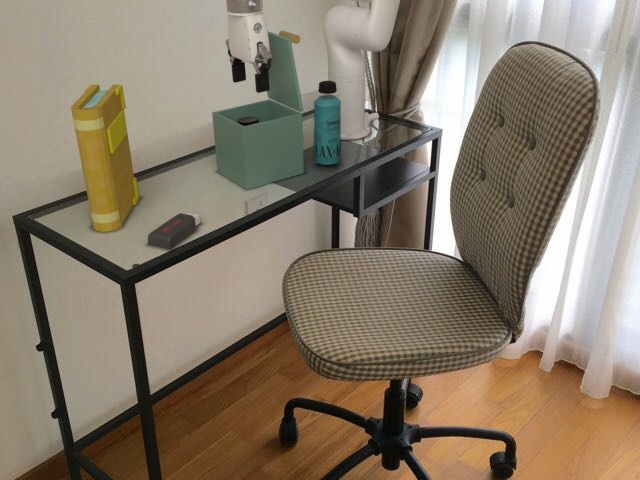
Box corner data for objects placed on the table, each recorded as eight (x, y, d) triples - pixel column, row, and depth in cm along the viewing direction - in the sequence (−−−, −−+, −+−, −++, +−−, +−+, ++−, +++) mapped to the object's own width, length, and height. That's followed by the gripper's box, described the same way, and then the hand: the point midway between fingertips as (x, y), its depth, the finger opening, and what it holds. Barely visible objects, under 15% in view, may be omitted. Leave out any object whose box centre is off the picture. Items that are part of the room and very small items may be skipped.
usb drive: (148, 244, 154) (146, 231, 153) (183, 220, 163) (181, 208, 162) (170, 249, 152) (168, 236, 151) (204, 225, 161) (202, 212, 160)
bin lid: (287, 39, 166) (308, 31, 168) (253, 28, 175) (274, 20, 177) (300, 112, 176) (320, 103, 178) (268, 98, 185) (287, 89, 188)
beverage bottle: (308, 166, 188) (306, 82, 177) (327, 158, 192) (326, 76, 181) (328, 173, 184) (327, 87, 173) (347, 165, 188) (347, 81, 177)
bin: (247, 189, 176) (243, 127, 169) (217, 171, 186) (211, 112, 178) (303, 173, 184) (302, 113, 176) (272, 156, 193) (269, 99, 186)
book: (109, 197, 174) (89, 84, 160) (139, 197, 174) (122, 84, 160) (87, 231, 160) (64, 110, 146) (120, 231, 159) (100, 110, 146)
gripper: (282, 8, 160) (286, 92, 169) (238, -4, 172) (245, 74, 181) (251, 14, 156) (257, 99, 166) (208, 1, 168) (216, 80, 178)
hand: (251, 86), depth 174 cm, fingers open, 9 cm apart
